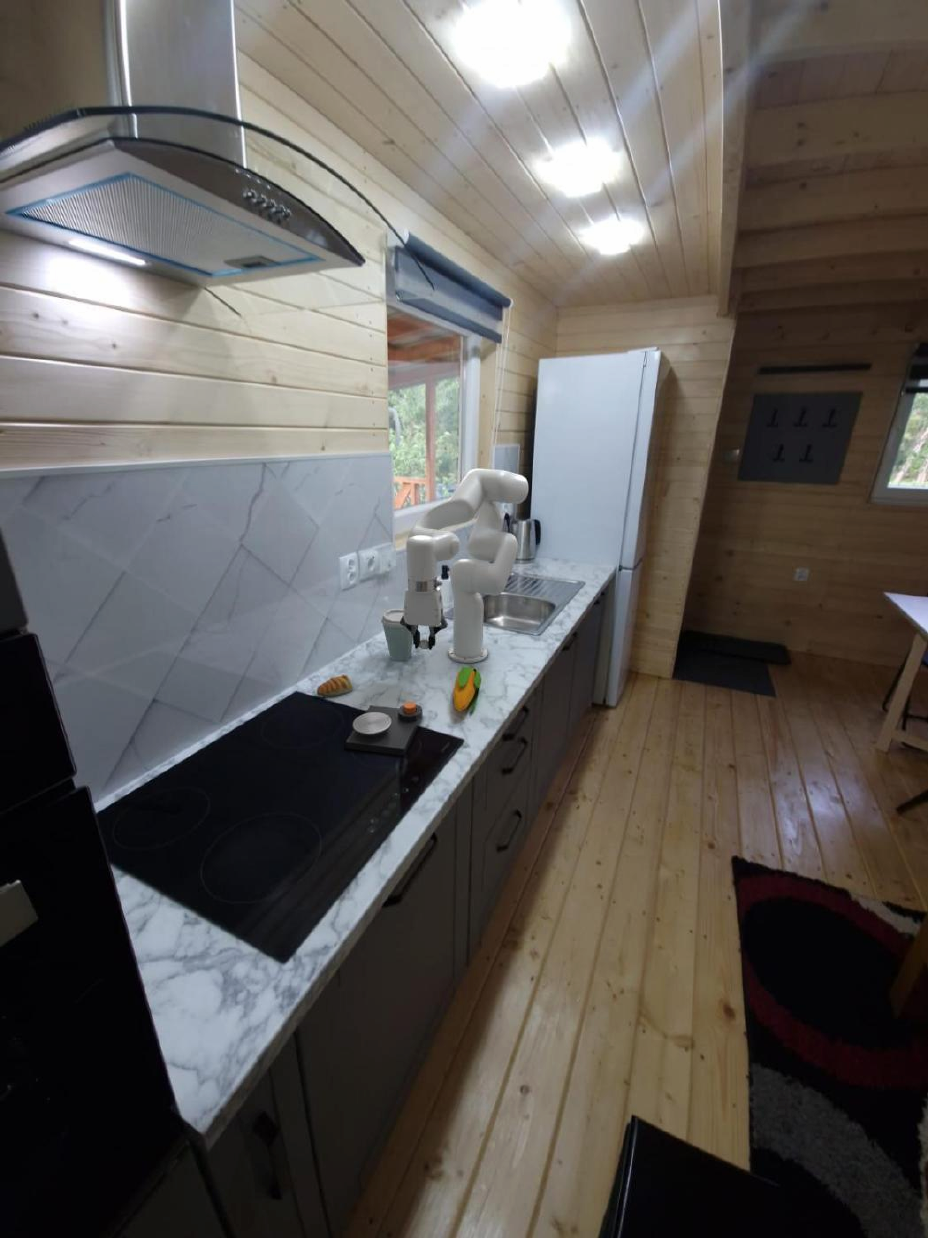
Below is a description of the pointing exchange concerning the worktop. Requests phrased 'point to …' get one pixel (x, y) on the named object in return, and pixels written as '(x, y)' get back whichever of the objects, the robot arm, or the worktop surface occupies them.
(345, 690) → the pastry
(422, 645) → the garlic
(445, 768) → the worktop surface
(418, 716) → the scale
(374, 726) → the scale pan
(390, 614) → the disposable coffee cup
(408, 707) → the tare button
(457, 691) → the corn
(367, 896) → the worktop surface
